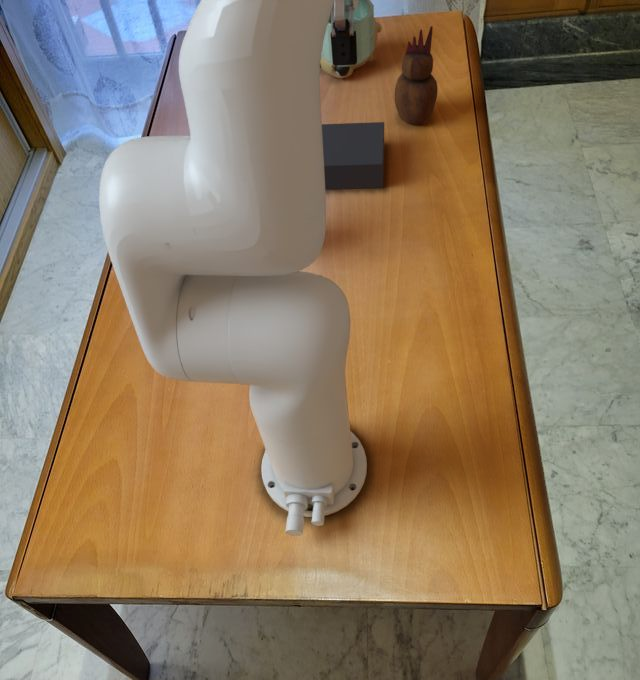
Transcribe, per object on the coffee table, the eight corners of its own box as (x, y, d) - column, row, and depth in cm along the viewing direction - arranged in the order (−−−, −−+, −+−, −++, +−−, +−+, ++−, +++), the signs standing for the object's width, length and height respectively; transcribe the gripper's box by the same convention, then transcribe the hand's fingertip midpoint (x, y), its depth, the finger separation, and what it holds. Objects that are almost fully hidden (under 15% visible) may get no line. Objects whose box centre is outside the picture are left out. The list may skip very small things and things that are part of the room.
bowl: (373, 67, 84) (372, 24, 79) (318, 70, 85) (314, 27, 80) (375, 36, 87) (374, -7, 83) (322, 38, 88) (319, -4, 84)
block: (382, 188, 99) (382, 163, 96) (319, 189, 101) (316, 165, 97) (384, 146, 104) (384, 121, 100) (323, 148, 105) (321, 124, 102)
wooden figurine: (440, 114, 107) (448, 21, 94) (424, 134, 105) (430, 41, 92) (405, 103, 109) (408, 11, 96) (389, 123, 107) (389, 31, 94)
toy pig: (332, 75, 121) (295, 56, 113) (360, 7, 116) (323, -18, 108) (367, 94, 117) (331, 76, 109) (398, 25, 111) (362, 0, 103)
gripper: (310, -148, 75) (323, 11, 90) (297, -75, 66) (314, 86, 82) (374, -153, 74) (376, 8, 89) (369, -81, 65) (372, 84, 81)
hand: (346, 45), depth 85 cm, fingers closed on bowl, 7 cm apart
